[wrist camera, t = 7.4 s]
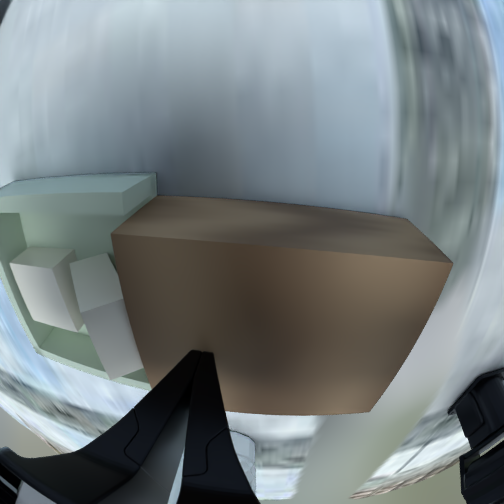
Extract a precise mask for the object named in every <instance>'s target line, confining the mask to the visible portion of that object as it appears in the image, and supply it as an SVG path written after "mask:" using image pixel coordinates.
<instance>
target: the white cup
mask: <svg viewBox="0 0 504 504" xmlns="http://www.w3.org/2000/svg"><path fill="white" fill-rule="evenodd" d="M230 434H231V438H232V442H233V445H234V449H235V451H236V454H237V456H238V459H239V461H240V464H241V466H242V468H243V470H244V473H245V475H246V477H247V479H248V481H249V483H250V485H251V487H252V489H253V491H254V493H255V495H256V469H255V465H254V464H255V443H254V442H253V441H252V440H251V439H250V438H249V437H247V436H244V435H242V434H239V433H237V432H232V431H230ZM184 448H185V447H184ZM183 458H184V451H183V454H182V457H181V460H180V464H179V467H178V470H177V474H176V477H175V480H174V483H173V487H172V490H171V493H170V497H169V500H168V504H176V502H177V499H178V496H179V492H180V487H181V479H182V468H183Z"/></svg>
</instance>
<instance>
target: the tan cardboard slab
mask: <svg viewBox="0 0 504 504" xmlns="http://www.w3.org/2000/svg"><path fill="white" fill-rule="evenodd" d="M110 234H111V240H112V246H113V252H114V257H115V262H116V267H117V272H118V277H119V282H120V286H121V290H122V295H123V299H124V303H125V307H126V311H127V314H128V318H129V322H130V325H131V329H132V332H133V336H134V339H135V342H136V346H137V349H138V352H139V355H140V358H141V361H142V364H143V367H144V370H145V373H146V375H147V378H148V381H149V384H150V386H151V389H153V388H154V387H155V386H156V385H157V384H158V383H159V382H160V381H161V380H162V379H163V378H164V377H165V376H166V375H167V374H168V373H169V372H170V371H171V370H172V369H173V368H174V367H175V366H176V364H177V363H178V362H179V361H180V360H181V359H182V358H183V357H184V356H185V355H186V354H187V353H188V352H189V351H190V350H200V351H202V352H203V351H207V352H213V353H214V357H215V363H216V368H217V373H218V378H219V383H220V388H221V393H222V398H223V403H224V408H225V411H230V412H239V413H251V414H266V415H299V416H306V415H337V414H352V413H364V412H370V411H371V409H372V408H373V407H374V405H375V404H376V403H377V401H378V400H379V399H380V397H381V396H382V395H383V393H384V392H385V390H386V389H387V387H388V386H389V385H390V383H391V382H392V380H393V379H394V377H395V376H396V374H397V373H398V371H399V370H400V368H401V366H402V365H403V363H404V362H405V360H406V358H407V357H408V355H409V353H410V352H411V350H412V348H413V347H414V345H415V343H416V341H417V339H418V338H419V336H420V334H421V332H422V331H423V329H424V327H425V325H426V323H427V321H428V319H429V317H430V315H431V313H432V311H433V309H434V307H435V305H436V303H437V301H438V299H439V296H440V294H441V292H442V290H443V287H444V285H445V283H446V280H447V278H448V276H449V273H450V271H451V268H452V266H453V262H452V261H451V260H450V259H449V258H448V257H447V256H446V255H445V254H444V253H443V252H442V251H441V250H440V249H439V248H438V247H437V246H436V245H435V244H434V243H433V242H432V241H430V240H429V239H428V238H427V237H426V236H425V235H424V234H423V233H422V232H421V231H420V230H419V229H418V228H416V227H415V226H414V225H413V224H412V223H411V222H410V221H409V220H408V219H404V218H398V217H391V216H385V215H378V214H371V213H364V212H356V211H349V210H341V209H333V208H324V207H315V206H306V205H296V204H286V203H276V202H264V201H252V200H239V199H224V198H207V197H187V196H162V195H157V196H156V197H154V198H153V199H152V200H150V201H149V202H148V203H147V204H145V205H144V206H143V207H142V208H140V209H139V210H138V211H137V212H135V213H134V214H133V215H132V216H131V217H129V218H128V219H127V220H126V221H125V222H123V223H122V224H121V225H120V226H119V227H117V228H116V229H115V230H114V231H113V232H112V233H110Z"/></svg>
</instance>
